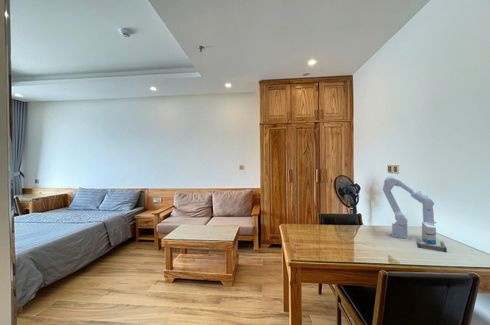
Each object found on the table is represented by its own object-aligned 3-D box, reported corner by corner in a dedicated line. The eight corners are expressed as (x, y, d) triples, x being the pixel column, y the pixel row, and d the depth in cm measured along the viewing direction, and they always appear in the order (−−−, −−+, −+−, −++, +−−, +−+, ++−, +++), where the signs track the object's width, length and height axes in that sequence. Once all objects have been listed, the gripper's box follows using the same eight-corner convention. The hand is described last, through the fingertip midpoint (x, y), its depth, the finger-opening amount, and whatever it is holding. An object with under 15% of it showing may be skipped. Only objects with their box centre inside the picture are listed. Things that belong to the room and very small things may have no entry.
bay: (418, 247, 137) (418, 243, 137) (416, 241, 147) (416, 237, 147) (446, 252, 129) (446, 248, 129) (443, 245, 139) (442, 241, 139)
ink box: (436, 244, 141) (436, 227, 139) (427, 243, 143) (427, 227, 141) (430, 237, 149) (430, 221, 147) (421, 237, 151) (421, 221, 149)
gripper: (437, 218, 141) (439, 238, 141) (434, 213, 153) (435, 232, 153) (423, 217, 145) (425, 237, 145) (421, 212, 157) (422, 231, 157)
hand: (429, 234), depth 149 cm, fingers closed, pressing on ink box
